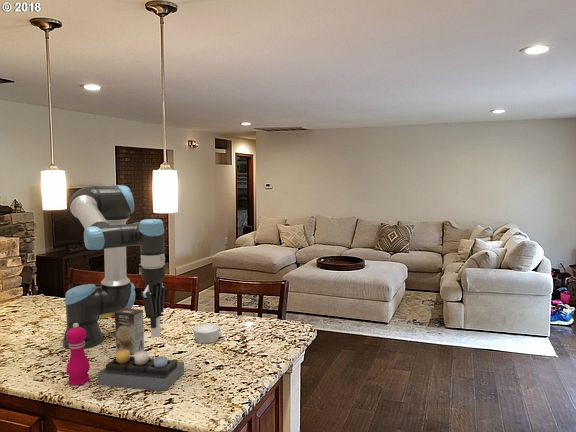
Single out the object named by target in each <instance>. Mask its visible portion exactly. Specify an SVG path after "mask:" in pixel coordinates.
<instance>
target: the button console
mask: <svg viewBox="0 0 576 432" xmlns="http://www.w3.org/2000/svg"><path fill="white" fill-rule="evenodd" d="M154 358H155V357H154ZM154 358H153V357H148V363H146V364H145V366H138V365H137V364H135V357H134V356H130V360H129V361H128V362H127V364H126V365H125V364H119V363H117V362H116V357H115V358H114V359H112V360H111V361H109V362H107V363H106V364H105V367H104V368H103V369H101V370H99V371H98V372H97V385H98V386H99V385H100V386H108V387H119V388H128V389H138V390H148V391H149V390H150V391H155V392H156V391H157V392H159V391H160V392H166V391H167V390H168V389H169V388H170V387H171V386H172V385H173V384H174V383H176V382H177V380H178V379H180V378H181V377H182V376H183V375H184V374H185V362H184V361H181V360H175V359H167V366H166V367H164V368H159V367H154Z"/></svg>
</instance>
